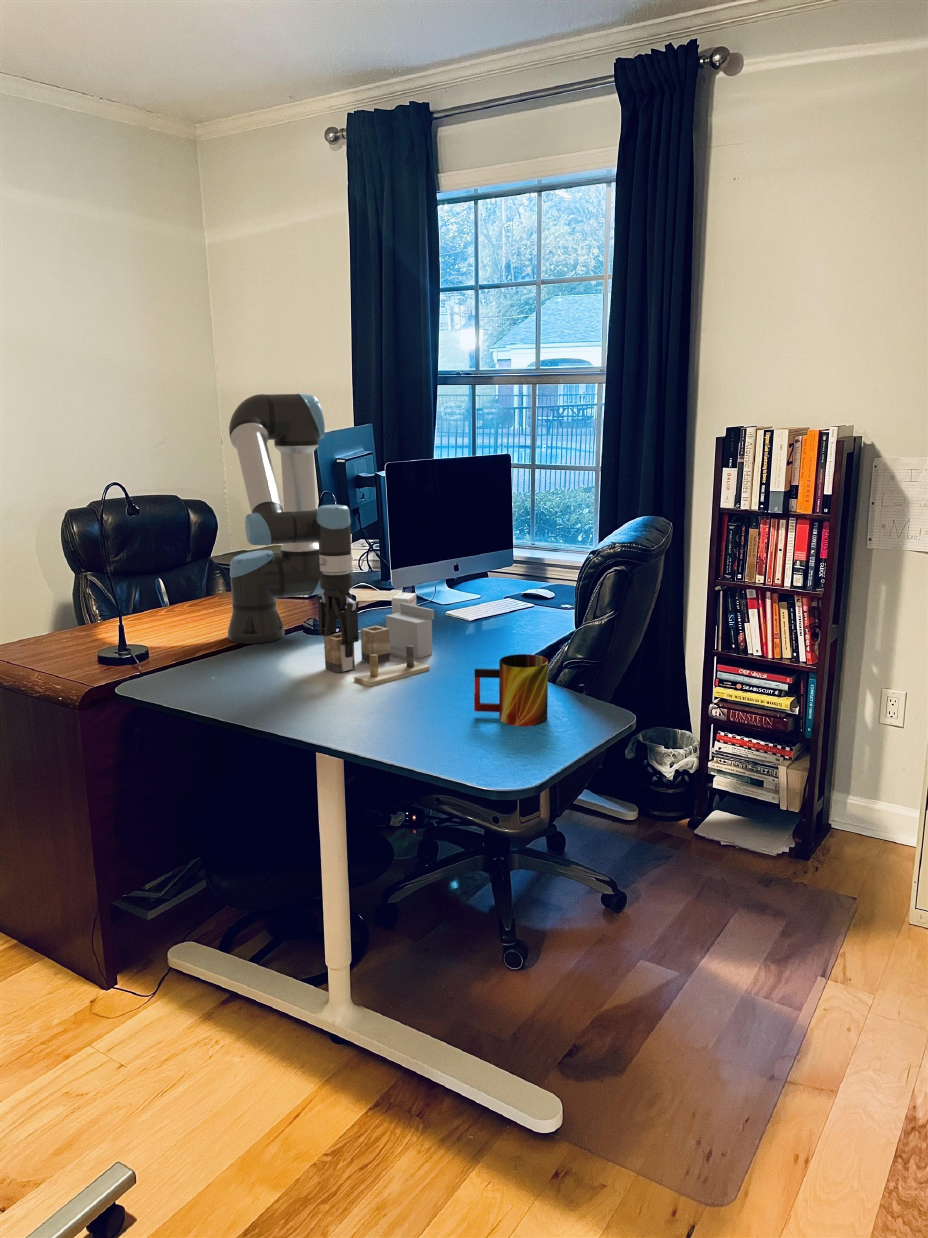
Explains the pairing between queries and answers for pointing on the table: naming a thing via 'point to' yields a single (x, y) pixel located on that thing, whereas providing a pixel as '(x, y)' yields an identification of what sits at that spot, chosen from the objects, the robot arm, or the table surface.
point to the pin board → (391, 670)
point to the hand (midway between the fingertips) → (339, 667)
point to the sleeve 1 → (334, 652)
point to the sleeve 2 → (375, 643)
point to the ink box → (402, 601)
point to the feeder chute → (410, 631)
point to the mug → (517, 690)
